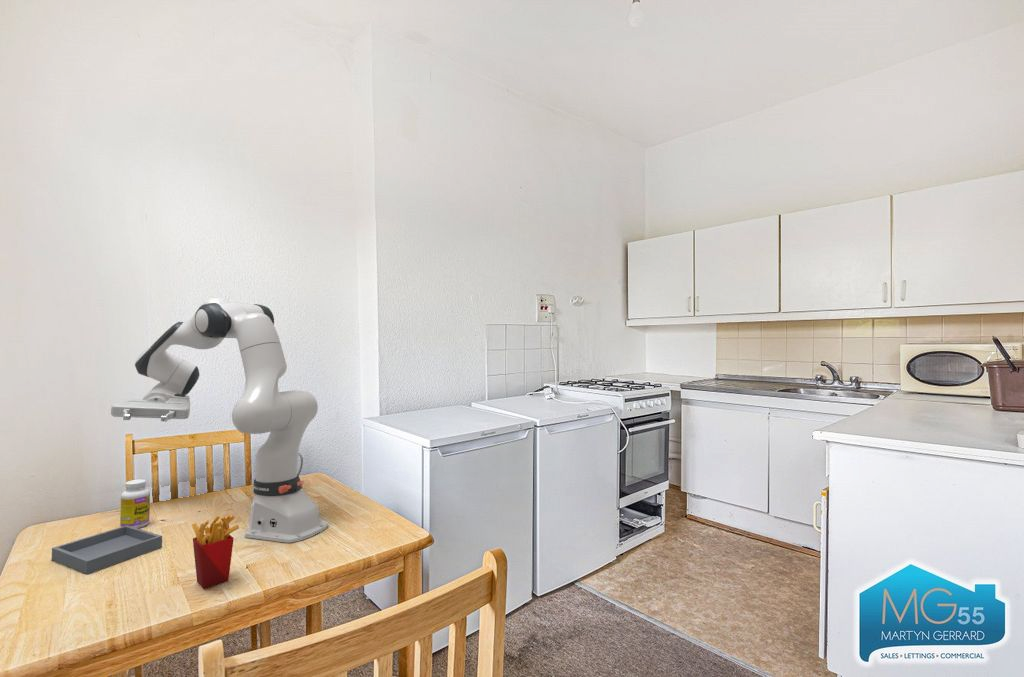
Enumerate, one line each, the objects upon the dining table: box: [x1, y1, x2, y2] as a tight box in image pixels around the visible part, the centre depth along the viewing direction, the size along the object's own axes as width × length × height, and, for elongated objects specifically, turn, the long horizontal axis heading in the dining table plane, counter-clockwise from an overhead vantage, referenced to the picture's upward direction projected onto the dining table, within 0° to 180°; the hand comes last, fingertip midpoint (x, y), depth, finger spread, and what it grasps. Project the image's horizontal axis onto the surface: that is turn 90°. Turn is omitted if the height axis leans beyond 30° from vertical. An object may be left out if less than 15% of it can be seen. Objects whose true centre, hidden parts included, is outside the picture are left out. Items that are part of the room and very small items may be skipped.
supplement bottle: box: [119, 478, 151, 529], centre depth 138 cm, size 7×7×13 cm
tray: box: [51, 525, 163, 575], centre depth 121 cm, size 16×16×3 cm
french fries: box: [191, 514, 240, 590], centre depth 107 cm, size 9×8×15 cm
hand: (145, 418), depth 146 cm, fingers open, 8 cm apart
